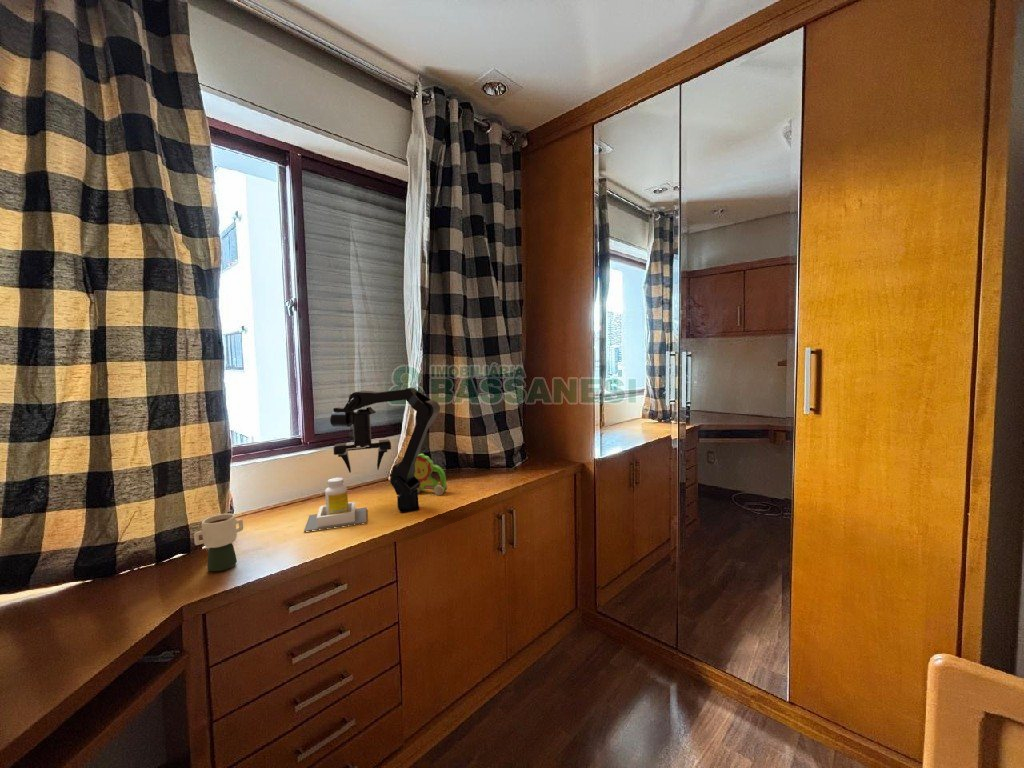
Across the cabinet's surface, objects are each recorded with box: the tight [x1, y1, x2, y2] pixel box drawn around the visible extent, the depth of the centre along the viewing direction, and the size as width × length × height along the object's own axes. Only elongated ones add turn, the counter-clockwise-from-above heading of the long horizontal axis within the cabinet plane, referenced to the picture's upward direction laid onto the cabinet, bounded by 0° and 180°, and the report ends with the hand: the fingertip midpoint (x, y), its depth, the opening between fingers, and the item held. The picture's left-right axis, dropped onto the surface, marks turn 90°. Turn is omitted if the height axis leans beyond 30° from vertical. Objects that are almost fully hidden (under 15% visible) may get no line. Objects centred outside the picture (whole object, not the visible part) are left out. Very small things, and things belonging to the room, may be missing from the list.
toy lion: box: [414, 453, 448, 496], centre depth 164 cm, size 16×5×15 cm, turn 76°
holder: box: [303, 501, 367, 532], centre depth 139 cm, size 18×14×4 cm
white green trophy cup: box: [193, 513, 244, 572], centre depth 108 cm, size 11×7×13 cm, turn 145°
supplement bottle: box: [324, 477, 349, 515], centre depth 139 cm, size 7×7×13 cm
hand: (364, 470), depth 150 cm, fingers open, 9 cm apart
